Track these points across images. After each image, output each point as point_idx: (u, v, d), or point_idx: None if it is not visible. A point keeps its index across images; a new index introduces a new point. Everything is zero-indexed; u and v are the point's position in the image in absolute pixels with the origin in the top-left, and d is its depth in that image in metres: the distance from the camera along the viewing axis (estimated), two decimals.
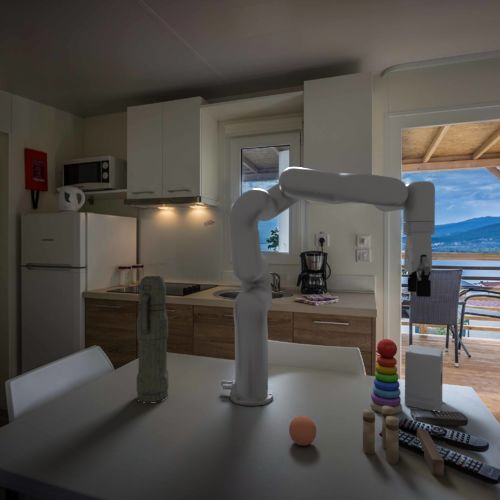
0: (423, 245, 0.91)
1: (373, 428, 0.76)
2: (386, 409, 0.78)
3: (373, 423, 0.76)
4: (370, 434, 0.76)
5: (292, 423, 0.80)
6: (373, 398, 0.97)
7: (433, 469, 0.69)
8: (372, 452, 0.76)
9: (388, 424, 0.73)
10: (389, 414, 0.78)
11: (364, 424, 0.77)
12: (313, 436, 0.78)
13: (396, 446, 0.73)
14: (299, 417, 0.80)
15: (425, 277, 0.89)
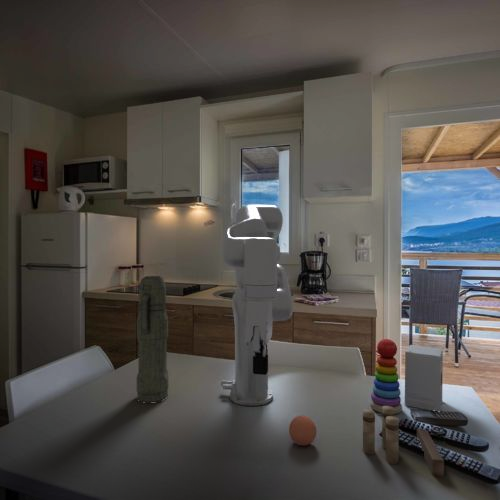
0: (256, 315, 0.77)
1: (373, 428, 0.76)
2: (386, 409, 0.78)
3: (373, 423, 0.76)
4: (370, 434, 0.76)
5: (292, 423, 0.80)
6: (373, 398, 0.97)
7: (433, 469, 0.69)
8: (372, 452, 0.76)
9: (388, 424, 0.73)
10: (389, 414, 0.78)
11: (364, 424, 0.77)
12: (313, 436, 0.78)
13: (396, 446, 0.73)
14: (299, 417, 0.80)
15: (258, 354, 0.79)
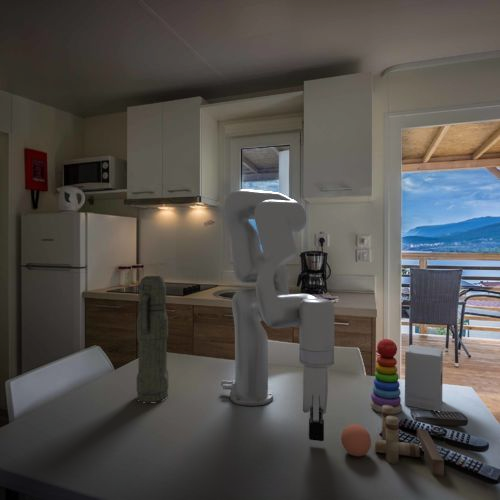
0: (315, 383, 0.75)
1: (402, 454, 0.75)
2: (386, 408, 0.79)
3: (408, 455, 0.75)
4: None
5: None
6: (373, 398, 0.97)
7: (433, 469, 0.69)
8: (377, 450, 0.76)
9: (388, 424, 0.73)
10: (389, 413, 0.78)
11: (405, 445, 0.75)
12: (344, 440, 0.75)
13: (396, 446, 0.73)
14: None
15: None
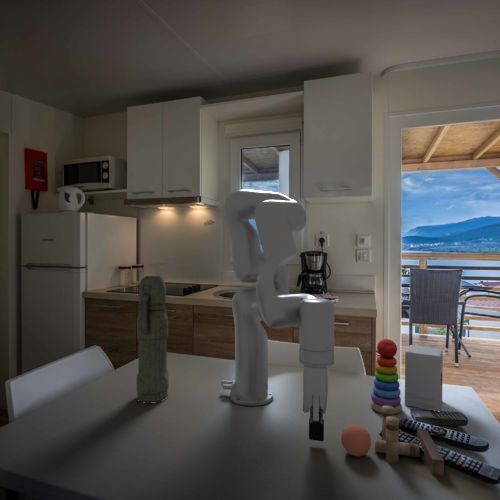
0: (315, 383, 0.75)
1: (402, 454, 0.75)
2: (386, 409, 0.78)
3: (408, 455, 0.75)
4: None
5: None
6: (373, 398, 0.97)
7: (433, 469, 0.69)
8: (377, 450, 0.76)
9: (388, 424, 0.73)
10: (389, 414, 0.78)
11: (405, 445, 0.75)
12: (344, 440, 0.75)
13: (396, 446, 0.73)
14: None
15: None
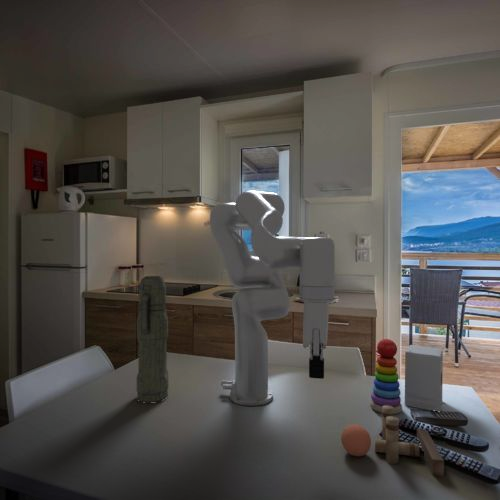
0: (316, 317, 0.75)
1: (402, 453, 0.75)
2: (386, 409, 0.78)
3: (408, 454, 0.75)
4: None
5: None
6: (373, 398, 0.97)
7: (433, 469, 0.69)
8: (377, 450, 0.76)
9: (388, 424, 0.73)
10: (389, 414, 0.78)
11: (405, 444, 0.76)
12: (344, 440, 0.75)
13: (396, 446, 0.73)
14: None
15: (316, 357, 0.77)
